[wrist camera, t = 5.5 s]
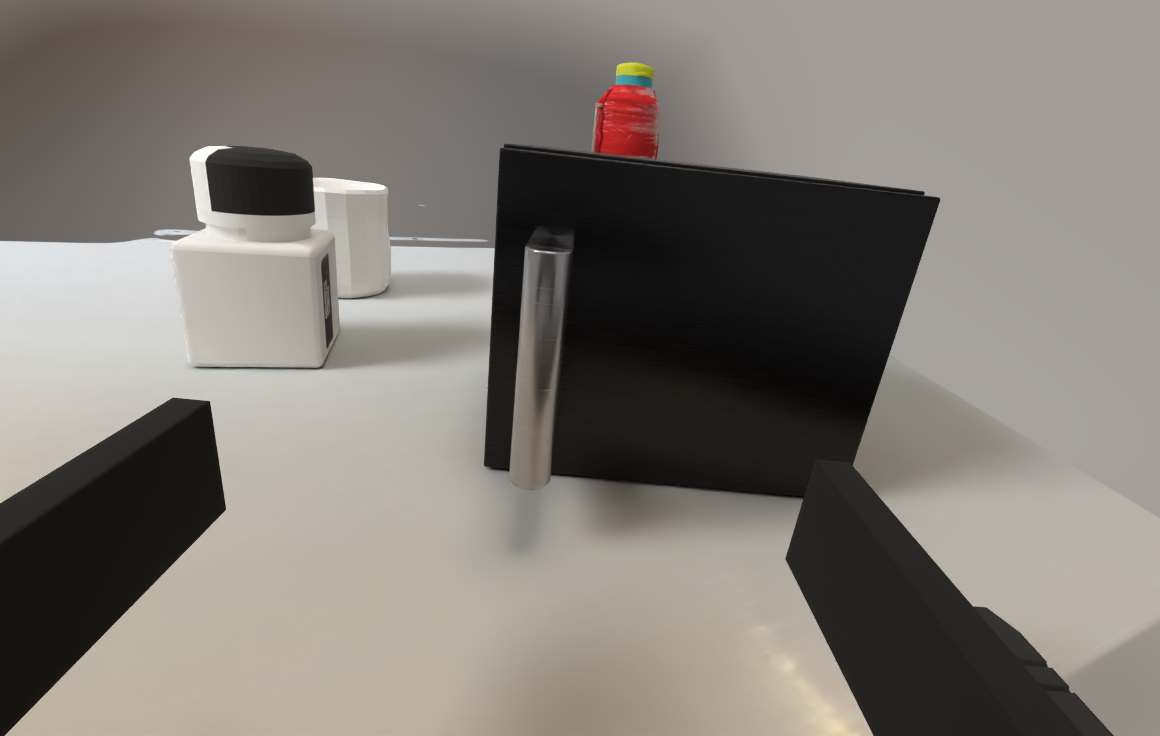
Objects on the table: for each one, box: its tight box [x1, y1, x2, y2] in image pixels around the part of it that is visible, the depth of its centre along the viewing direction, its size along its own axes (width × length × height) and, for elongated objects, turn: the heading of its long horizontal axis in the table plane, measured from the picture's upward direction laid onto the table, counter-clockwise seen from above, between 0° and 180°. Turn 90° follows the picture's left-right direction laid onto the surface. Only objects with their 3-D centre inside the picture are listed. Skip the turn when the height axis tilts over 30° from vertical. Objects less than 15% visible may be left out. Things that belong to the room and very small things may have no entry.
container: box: [170, 146, 340, 368], centre depth 36 cm, size 8×8×13 cm
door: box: [484, 148, 940, 496], centre depth 23 cm, size 7×18×15 cm, turn 90°
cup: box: [311, 178, 391, 298], centre depth 54 cm, size 10×10×10 cm
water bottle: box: [592, 63, 660, 159], centre depth 70 cm, size 12×8×25 cm, turn 115°
